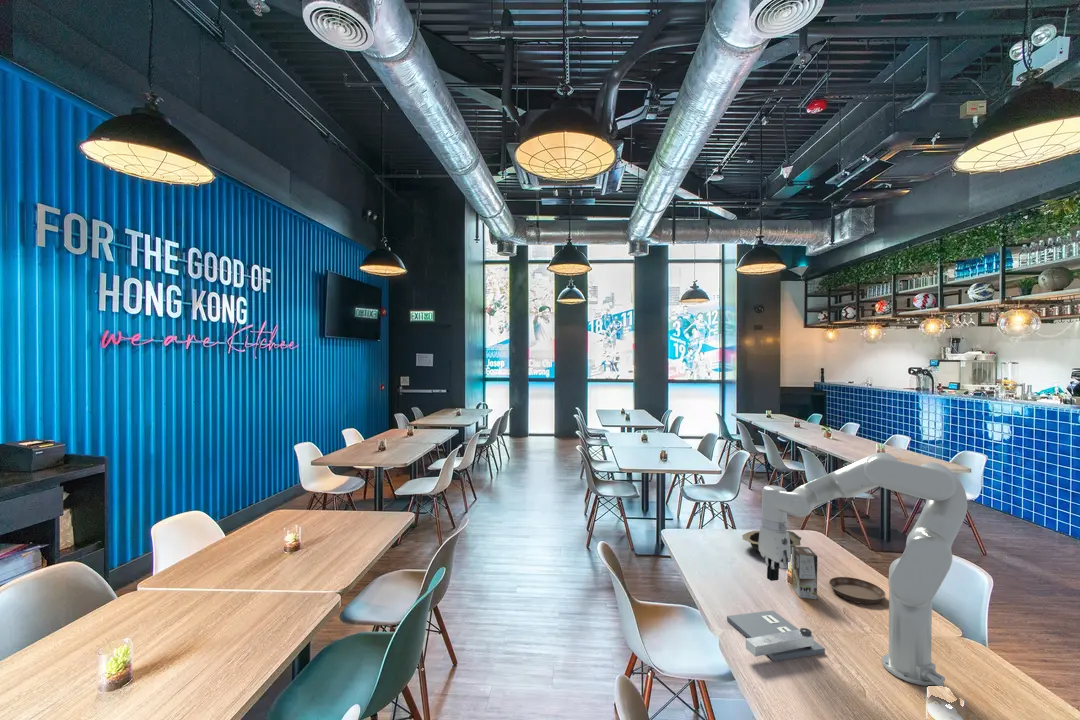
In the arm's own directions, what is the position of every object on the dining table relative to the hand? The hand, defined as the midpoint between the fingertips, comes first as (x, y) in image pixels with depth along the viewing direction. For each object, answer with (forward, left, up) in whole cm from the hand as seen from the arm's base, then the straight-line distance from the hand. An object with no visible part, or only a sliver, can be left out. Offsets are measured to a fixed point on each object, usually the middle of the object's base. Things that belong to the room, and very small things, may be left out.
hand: (772, 579), depth 155 cm
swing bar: (-14, +9, -14) cm, 22 cm away
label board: (-5, +4, -16) cm, 17 cm away
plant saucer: (+12, -47, -16) cm, 51 cm away
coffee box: (+17, -28, -16) cm, 37 cm away
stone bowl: (+53, -43, -16) cm, 70 cm away
